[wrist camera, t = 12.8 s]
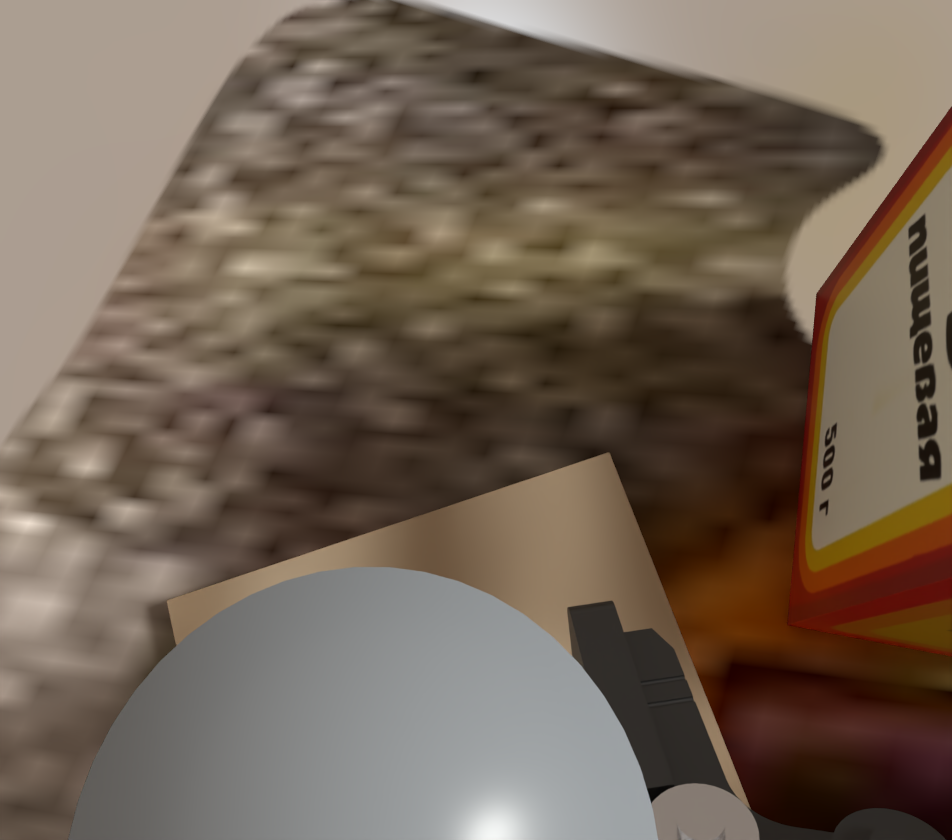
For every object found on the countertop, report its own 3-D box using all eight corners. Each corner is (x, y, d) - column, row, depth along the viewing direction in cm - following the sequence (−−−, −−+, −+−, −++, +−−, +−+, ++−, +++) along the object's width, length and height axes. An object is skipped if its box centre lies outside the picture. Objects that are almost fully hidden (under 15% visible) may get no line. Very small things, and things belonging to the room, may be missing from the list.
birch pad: (605, 462, 24) (609, 452, 23) (793, 938, 20) (807, 950, 19) (181, 604, 23) (166, 600, 22) (292, 1123, 19) (281, 1145, 18)
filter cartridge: (529, 615, 20) (541, 495, 8) (610, 855, 18) (764, 1107, 7) (311, 690, 19) (19, 669, 8) (374, 940, 18) (119, 1352, 6)
